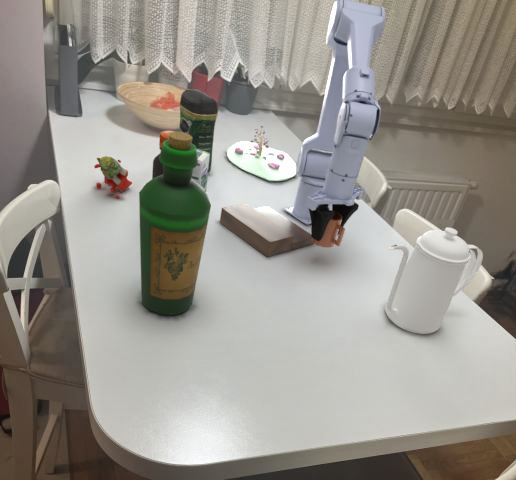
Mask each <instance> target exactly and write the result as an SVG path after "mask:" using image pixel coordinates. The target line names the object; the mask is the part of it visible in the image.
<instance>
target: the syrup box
mask: <svg viewBox="0 0 516 480" xmlns="http://www.w3.org/2000/svg"><path fill="white" fill-rule="evenodd" d="M209 157H210V153H208V152H205V151H202V150H199V149H197V160H198V165H197V166H196V167H195V168H193V173H192V178H191V179H193V180H194V181H195V182H197V183H198V184H199V185H200V186H202V187H203V188H204V190H205V192H206V193H207V184H208V175H209V172H208V167H209Z"/></svg>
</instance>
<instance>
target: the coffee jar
mask: <svg viewBox="0 0 516 480" xmlns="http://www.w3.org/2000/svg"><path fill="white" fill-rule="evenodd" d="M218 115H219V101H217V100H216V99H215V98H213V97H211V96H210V95H207V94H206V93H204V92H202V91H201V90H200V89H185V90H184V91H183V92H182V93H181V95H180V102H179V117H180V118H179V126H178V127H179V128H178V132H183V133H187V134H189V135H191V136H192V138H193V139H192V142H191V143H192V144H194V145H195V146H196V149H199V150H202V151H205V152H208V153H210V157H209V167H208V173H210V172H211V170H212V163H213V148H214V139H215V138H214V136H215V127H216V122H217V118H218Z"/></svg>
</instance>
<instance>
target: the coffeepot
mask: <svg viewBox="0 0 516 480" xmlns="http://www.w3.org/2000/svg"><path fill="white" fill-rule="evenodd" d="M458 233H459V232H458V230H457V229H455V228H453V227H445V229H444V230H442V229H441V230H440V229H431V230H428V231H425V232H424V233H423V234H422V235H420V236H418V237H417V239H416V241H415V246H414V248H413V250H412V252H411V254H410V251H409V248H408V247H407V245H405V244H403V243H394V244H391V245H390V246H389V247H388V250H390V251H391V250H400V251H402V257H401V260H400V264H399V266H398V269H397V273H396V275H395V278H394V280H393V283H392V287H391V290H390V293H389V295H388V298H387V300H386V301H385V306H384V311H385V313H386V316H387V318H389V320H390V321H391V322H392V323H393V324H394V325H396V326H397V327H399V328H400V329H402V330H404V331H406V332H410V333H414V334H418V335H427V334H432V333H435V332H437V331H438V330H439V329H440V328H441V327H442V325H443V322H444V319H445V317H446V314H447V312H448V309H449V307H450V305H451V302H452V300H453V298H454V297H455V296H456V295H458V294H459V293H460V292H461V291H463V290H464V288H465V287H466V286H467V285H469V283H470V282H471V281H472V280H473V278H474V277H475V276H476V275H477V272H479V270H480V268H481V265H482V263H483V260H484V253H483V251H482V249H481V248H479V247H478V246H477V245H475V244H468V243H467V241H465V240H464V239H463V238H461V237H460V236H458ZM474 249H475V250H476V251H477V255H476V252H475V251H474ZM409 255H410V256H409ZM467 264H468V265H467ZM466 265H467V267H466ZM465 268H466V269H465ZM464 270H465V271H464Z"/></svg>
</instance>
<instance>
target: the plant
mask: <svg viewBox="0 0 516 480" xmlns="http://www.w3.org/2000/svg"><path fill="white" fill-rule="evenodd" d="M263 128H264V126H263V125H260V131H259V129H258V128H254V131H255V134H257V135H255V134H254V137H255V138H254V139H253V140H250V141H249V140H241V141H237V142H236V143H234V144H232V145H231V146H229V147H228V149H227V150H226V156H227V159H228V161H229V162H231V163H232V164H233V165H234V166H235V167H237V168H238V169H240V170H242V171H244V172H246V173H247V174H251V175H253V176H256V177H258V178H261V179H263V180H265V181H268V182H283V181H288V180H290V179H293V178H294V177H296V176H297V173H296V166H297V162H295V160H294V159H293V158H292V157H291V156H290V155H289V154H288V153H287V152H286V151H283V150H279V149H275V148H272V147H270V146H269V144H268V143H269V140H268V138H267V137H266V138H265V136H264V135H265V134H266V132H265V131H262V129H263ZM261 134H262V135H261ZM256 137H257V138H256ZM265 140H266V141H265Z"/></svg>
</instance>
